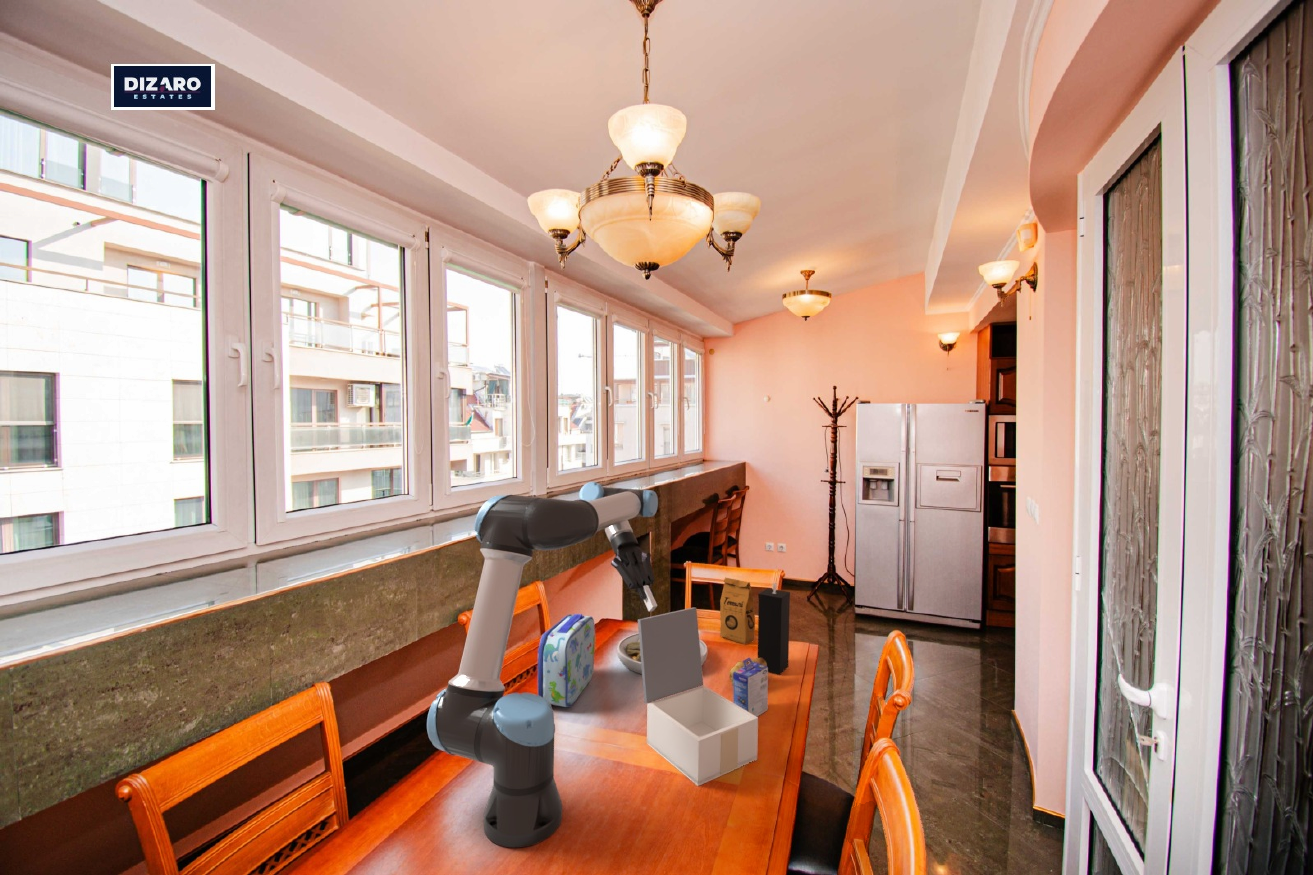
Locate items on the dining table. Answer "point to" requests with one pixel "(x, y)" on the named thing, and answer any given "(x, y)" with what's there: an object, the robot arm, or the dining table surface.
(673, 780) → the dining table surface
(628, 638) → the bowl
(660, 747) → the storage box
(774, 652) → the black pillar candle
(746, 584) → the coffee package
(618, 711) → the dining table surface
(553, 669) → the lunch box
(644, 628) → the box lid
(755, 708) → the ink cartridge box
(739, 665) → the bread roll
